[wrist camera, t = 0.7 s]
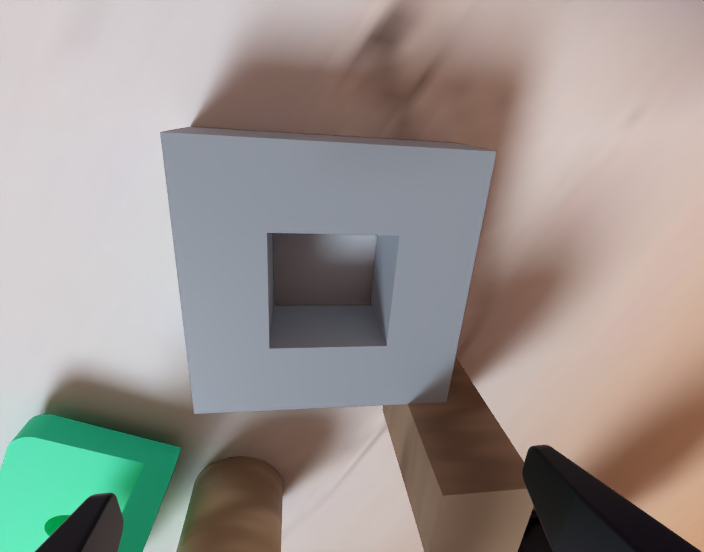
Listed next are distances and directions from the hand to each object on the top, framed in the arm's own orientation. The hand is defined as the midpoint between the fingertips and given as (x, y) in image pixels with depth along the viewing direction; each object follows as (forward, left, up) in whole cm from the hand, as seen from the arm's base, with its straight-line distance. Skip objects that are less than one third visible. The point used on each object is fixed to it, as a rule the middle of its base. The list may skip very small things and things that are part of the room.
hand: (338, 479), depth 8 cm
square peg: (-7, +8, -13) cm, 16 cm away
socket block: (-1, 0, -13) cm, 13 cm away
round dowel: (+4, +16, -13) cm, 21 cm away
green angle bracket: (+13, +15, -13) cm, 24 cm away
